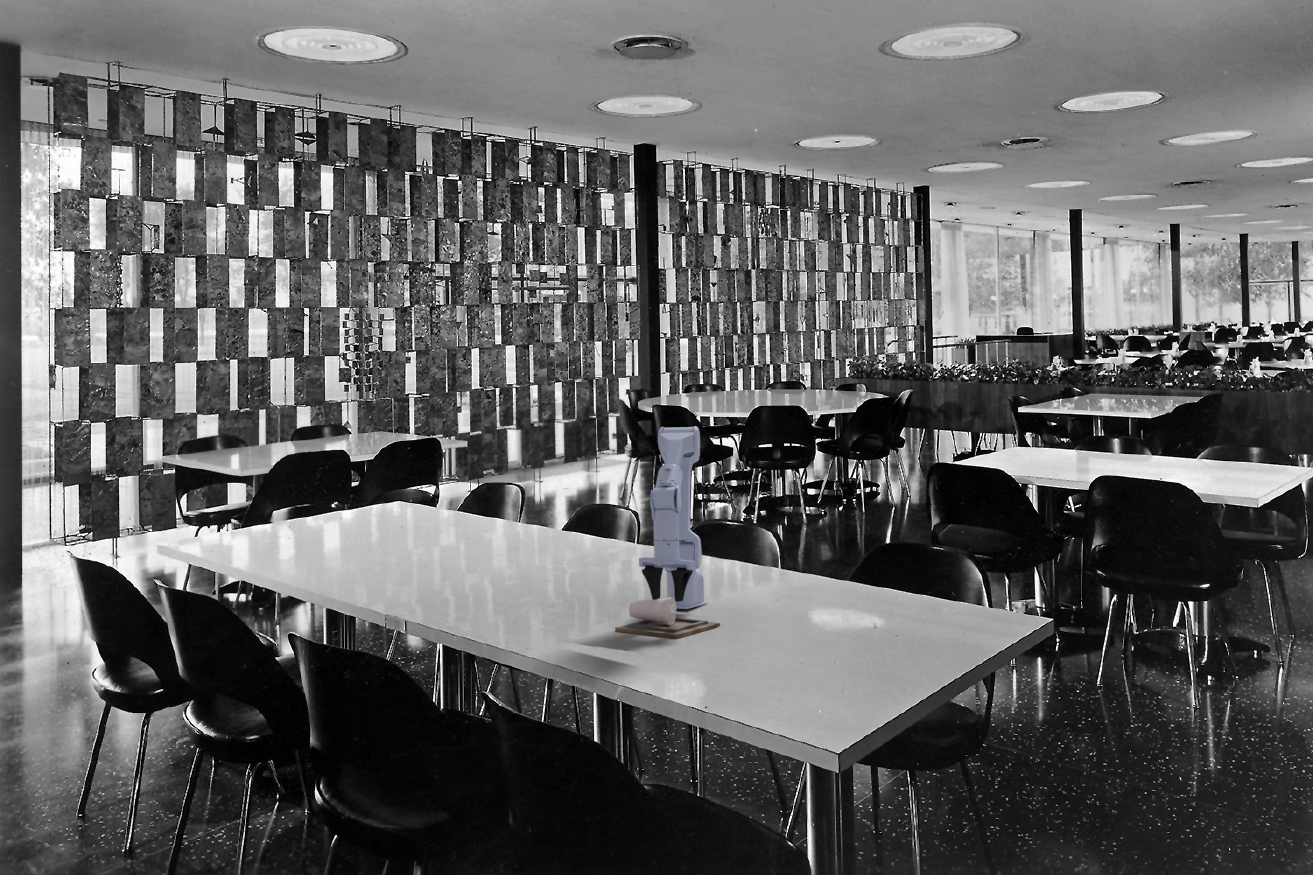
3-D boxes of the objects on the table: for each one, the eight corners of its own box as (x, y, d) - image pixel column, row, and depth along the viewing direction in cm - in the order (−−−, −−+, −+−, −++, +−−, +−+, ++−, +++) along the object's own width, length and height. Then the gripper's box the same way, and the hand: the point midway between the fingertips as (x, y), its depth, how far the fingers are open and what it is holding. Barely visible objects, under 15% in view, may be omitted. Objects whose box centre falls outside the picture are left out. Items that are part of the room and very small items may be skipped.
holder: (660, 619, 250) (660, 613, 250) (720, 626, 240) (720, 620, 240) (615, 631, 236) (615, 624, 236) (676, 638, 226) (676, 632, 226)
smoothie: (624, 606, 238) (682, 610, 232) (634, 589, 243) (691, 592, 237) (630, 628, 241) (687, 632, 235) (640, 611, 246) (696, 614, 240)
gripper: (630, 540, 239) (631, 599, 239) (682, 542, 230) (683, 604, 230) (649, 537, 245) (650, 595, 245) (700, 540, 236) (701, 600, 236)
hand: (667, 600), depth 238 cm, fingers open, 6 cm apart
